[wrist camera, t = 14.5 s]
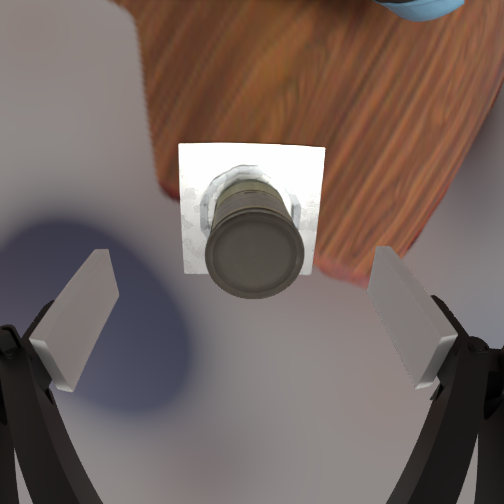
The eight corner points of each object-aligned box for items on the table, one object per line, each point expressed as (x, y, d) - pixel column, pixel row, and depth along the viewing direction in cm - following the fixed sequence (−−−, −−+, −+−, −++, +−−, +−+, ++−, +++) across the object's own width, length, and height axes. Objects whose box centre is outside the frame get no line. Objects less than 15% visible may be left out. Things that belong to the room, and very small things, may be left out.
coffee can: (299, 220, 46) (322, 267, 33) (241, 258, 48) (243, 314, 35) (259, 163, 42) (268, 189, 29) (199, 205, 44) (183, 248, 31)
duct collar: (180, 143, 41) (176, 145, 39) (323, 147, 42) (327, 149, 40) (185, 270, 49) (183, 278, 47) (309, 271, 51) (312, 279, 48)
